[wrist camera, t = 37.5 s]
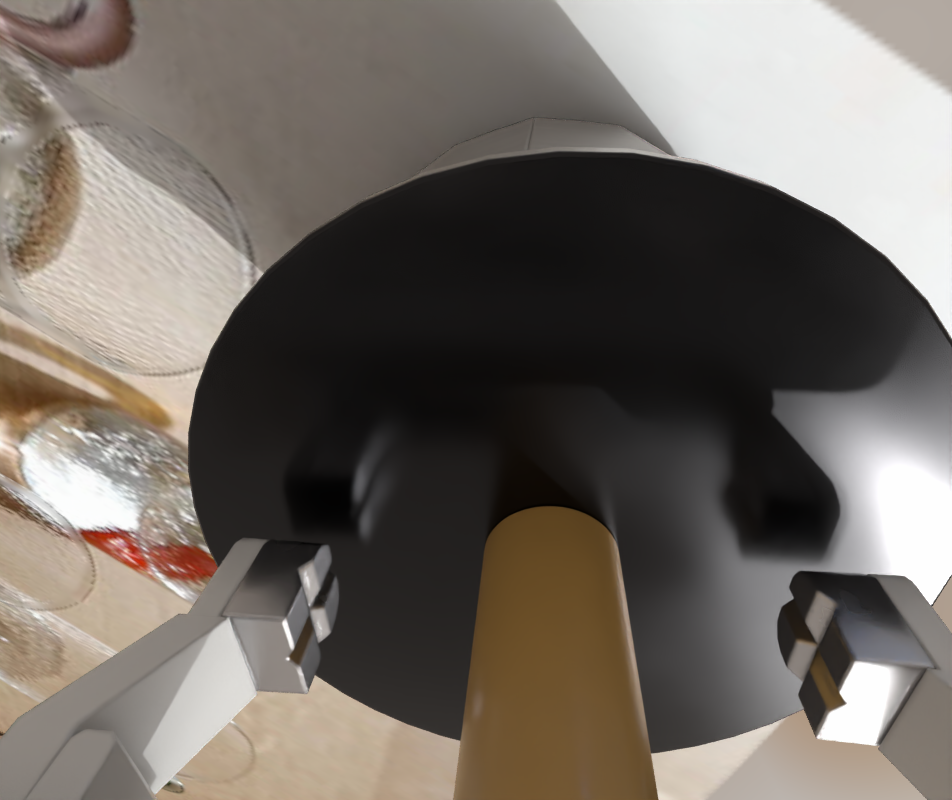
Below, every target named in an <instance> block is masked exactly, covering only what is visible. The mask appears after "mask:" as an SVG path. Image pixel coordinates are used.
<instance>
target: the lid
mask: <svg viewBox="0 0 952 800" xmlns="http://www.w3.org/2000/svg"><path fill="white" fill-rule="evenodd" d="M188 472H189V478H190V485H191V491H192V497H193V503H194V508H195V511H196V515H197V518H198V521H199V524H200V527H201V530H202V533H203V536H204V539H205V542H206V544H207V546H208V548H209V550H210V552H211V554H212V557H213V559H214V561H215V563H216V565H217V567H218V568H219V566H220V565H221V563H222V562H223V560H224V559H225V557H226V556H227V554H228V553H229V551H230V550H231V548H232V547H233V545H234V544H235V543H236V542H237V541H239V540H240V539H242V538H255V539H267V540H270V539H274V540H285V541H297V542H309V543H321V544H326V545H329V547H330V550H331V554H332V558H333V561H332V563H331V565H330V568H329V571H330V572H331V573H332V574H333V575H334V576H336V577H337V580H338V585H339V605H338V611H337V617H336V620H335V623H334V626H333V628H332V631H331V633H330V634H329V635H328V636H327V637H325V638H324V639H323V640H322V641H321V642H319V643H318V644H319V648H320V652H321V656H322V657H321V660H320V663H319V665H318V668H317V670H316V673H315V675H316V676H317V677H319V678H321V679H322V680H324V681H325V682H327V683H328V684H330V685H331V686H333V687H334V688H336V689H338V690H339V691H341V692H342V693H344V694H346V695H347V696H349V697H351V698H353V699H355V700H357V701H359V702H361V703H362V704H364V705H366V706H368V707H370V708H372V709H374V710H376V711H378V712H380V713H383V714H385V715H387V716H390V717H392V718H394V719H397V720H399V721H401V722H404V723H406V724H408V725H411V726H414V727H417V728H420V729H423V730H426V731H429V732H432V733H435V734H437V735H440V736H444V737H448V738H452V739H455V740H459V741H461V742H460V750H459V758H458V766H457V774H456V782H455V790H454V798H453V800H658V794H657V788H656V782H655V776H654V769H653V763H652V757H651V753H660V752H665V751H671V750H677V749H683V748H689V747H695V746H699V745H703V744H707V743H711V742H715V741H719V740H723V739H727V738H730V737H734V736H737V735H740V734H743V733H746V732H749V731H752V730H755V729H757V728H760V727H763V726H766V725H769V724H772V723H774V722H776V721H778V720H781V719H783V718H785V717H787V716H790V715H792V714H794V713H796V712H798V711H801V710H803V709H804V708H803V706H802V704H801V701H800V699H799V696H798V693H799V691H800V688H801V685H802V683H803V682H802V681H801V680H800V679H799V678H798V677H797V676H796V675H794V674H793V673H792V672H791V671H790V670H789V669H788V668H787V667H786V665H785V662H784V660H783V657H782V655H781V652H780V648H779V643H778V639H777V620H778V617H779V613H780V610H781V607H782V606H783V605H785V604H786V603H788V602H789V601H791V600H792V599H794V597H793V595H792V593H791V591H790V589H789V585H790V583H791V580H792V578H793V576H794V575H795V574H796V573H797V572H798V571H818V572H839V573H860V574H866V575H867V574H878V575H898V576H905V577H907V578H908V579H910V580H911V581H913V582H914V583H915V585H916V586H917V587H918V589H919V590H920V591H921V593H922V594H923V595H924V597H925V598H926V599H927V601H928V602H929V603H930V605H931V606H933V604H934V603H935V601H936V600H937V598H938V596H939V595H940V593H941V592H942V590H943V589H944V587H945V586H946V584H947V582H948V581H949V579H950V578H951V576H952V338H951V336H950V335H949V333H948V332H947V330H946V328H945V327H944V325H943V324H942V322H941V321H940V319H939V317H938V316H937V314H936V313H935V311H934V309H933V308H932V306H931V305H930V303H929V302H928V300H927V299H926V298H925V297H924V296H923V295H922V294H921V293H920V292H919V290H918V289H917V288H916V287H915V286H914V285H913V284H912V283H911V282H910V281H909V280H908V279H907V278H906V277H905V276H904V275H903V273H902V272H901V271H900V270H899V269H898V268H897V267H896V266H895V265H894V264H893V263H892V262H891V261H890V260H889V259H888V258H887V257H886V256H885V255H884V254H882V253H881V252H880V251H878V250H877V249H876V248H874V247H873V246H872V245H870V244H869V243H868V242H866V241H865V240H864V239H862V238H861V237H859V236H858V235H857V234H855V233H854V232H853V231H851V230H850V229H849V228H847V227H846V226H845V225H843V224H842V223H841V222H839V221H838V220H836V219H835V218H833V217H831V216H829V215H827V214H825V213H824V212H822V211H820V210H818V209H816V208H814V207H812V206H810V205H808V204H806V203H804V202H802V201H800V200H798V199H796V198H794V197H792V196H790V195H788V194H786V193H784V192H782V191H780V190H778V189H776V188H774V187H772V186H770V185H768V184H766V183H764V182H762V181H759V180H756V179H753V178H750V177H747V176H744V175H741V174H738V173H735V172H732V171H729V170H726V169H722V168H719V167H716V166H713V165H710V164H707V163H704V162H701V161H698V160H694V159H688V158H682V157H676V156H670V155H664V154H658V153H652V152H646V151H641V150H635V149H629V148H594V147H550V148H542V149H533V150H525V151H516V152H508V153H499V154H491V155H487V156H483V157H479V158H475V159H471V160H468V161H464V162H460V163H456V164H453V165H449V166H445V167H441V168H437V169H434V170H430V171H426V172H424V173H422V174H419V175H417V176H415V177H412V178H410V179H408V180H405V181H403V182H401V183H398V184H396V185H394V186H391V187H389V188H386V189H384V190H382V191H379V192H377V193H375V194H372V195H370V196H368V197H367V198H365V199H363V200H362V201H360V202H359V203H357V204H355V205H354V206H352V207H351V208H349V209H347V210H346V211H344V212H342V213H341V214H339V215H338V216H336V217H334V218H333V219H331V220H329V221H328V222H326V223H325V224H323V225H321V226H320V227H318V228H317V229H315V230H314V231H312V232H311V233H309V234H308V235H307V236H306V237H305V238H303V239H302V240H301V241H300V242H299V243H298V244H296V245H295V246H294V247H293V248H292V249H291V250H289V251H288V252H287V253H286V254H285V255H284V256H282V257H281V258H280V259H279V260H278V261H277V262H275V263H274V264H273V265H272V266H271V267H270V268H269V269H267V270H266V272H265V273H264V274H263V275H262V276H261V278H260V279H259V280H258V281H257V282H256V284H255V285H254V286H253V287H252V288H251V290H250V291H249V292H248V293H247V294H246V296H245V297H244V298H243V299H242V300H241V301H240V303H239V304H238V305H237V306H236V307H235V309H234V310H233V312H232V314H231V315H230V317H229V319H228V321H227V322H226V324H225V326H224V328H223V329H222V331H221V333H220V334H219V336H218V338H217V340H216V341H215V343H214V345H213V347H212V348H211V350H210V353H209V356H208V359H207V361H206V364H205V367H204V370H203V372H202V375H201V378H200V380H199V383H198V386H197V389H196V392H195V398H194V404H193V409H192V415H191V421H190V426H189V432H188Z"/></svg>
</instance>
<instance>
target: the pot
mask: <svg viewBox="0 0 952 800" xmlns="http://www.w3.org/2000/svg"><path fill="white" fill-rule="evenodd" d="M550 147H594V148H629V149H635V150H641V151H646V152H652V153H658V154H664V155H669V154H667V153H665V152H664V151H662V150H660V149H659V148H657V147H655V146H654V145H652V144H650V143H649V142H647V141H646V140H644V139H642V138H641V137H639V136H637V135H636V134H634V133H632V132H631V131H629V130H627V129H626V128H624V127H622V126H619V125H615V124H604V123H593V122H586V121H580V120H561V119H551V118H540V117H536V118H535V119H534V118H530V119H527V120H524V121H522V122H519V123H516V124H513V125H510V126H507V127H504V128H500V129H496V130H494V131H491V132H489V133H487V134H484V135H482V136H479V137H476V138H473V139H470V140H467V141H465V142H462V143H459V144H457V145H455V146H454V147H452V148H451V149H449V150H448V151H447V152H445V153H444V154H443V155H441V156H440V157H439V158H437V159H436V160H435V161H433V162H432V163H431V164H430V165H428V166H427V167H426V168H424V169H423V170H422V171H420V172H419V173H418V174H416V175H415V176H417V175H419V174H422V173H424V172H426V171H430V170H434V169H437V168H441V167H445V166H449V165H453V164H456V163H460V162H464V161H468V160H471V159H475V158H479V157H483V156H487V155H491V154H499V153H508V152H516V151H525V150H533V149H542V148H550ZM415 176H414V177H415Z"/></svg>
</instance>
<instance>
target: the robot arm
mask: <svg viewBox="0 0 952 800" xmlns="http://www.w3.org/2000/svg"><path fill="white" fill-rule="evenodd" d="M332 561H333V558H332V554H331V550H330V547H329V545H326V544H321V543H309V542H297V541H285V540H274V539H270V540H267V539H255V538H242V539H240V540H239V541H237V542H236V543H235V544H234V545H233V547H232V548H231V550H230V551H229V553H228V554H227V556H226V557H225V559H224V560H223V562H222V563H221V565H220V566H219V568H218V569H217V571H216V572H215V574H214V575H213V577H212V578H211V580H210V581H209V583H208V584H207V586H206V587H205V589H204V590H203V592H202V593H201V595H200V596H199V598H198V599H197V601H196V602H195V604H194V605H193V607H192V608H191V610H190V611H189V613H188V614H178V615H176V616H175V617H173V618H172V619H170V620H168V621H167V622H165V623H164V624H162V625H161V626H159V627H158V628H156V629H155V630H153V631H151V632H150V633H148V634H147V635H145V636H144V637H142V638H141V639H139V640H138V641H136V642H134V643H133V644H131V645H130V646H128V647H127V648H125V649H124V650H122V651H120V652H119V653H117V654H116V655H114V656H113V657H111V658H110V659H108V660H107V661H105V662H103V663H102V664H100V665H99V666H97V667H96V668H94V669H93V670H91V671H90V672H88V673H86V674H85V675H83V676H82V677H80V678H79V679H77V680H76V681H74V682H73V683H71V684H69V685H68V686H66V687H65V688H63V689H62V690H60V691H59V692H57V693H56V694H54V695H52V696H51V697H49V698H48V699H46V700H45V701H43V702H42V703H40V704H39V705H37V706H35V707H34V708H32V709H31V710H29V711H28V712H26V713H25V714H23V715H22V716H20V717H18V718H17V719H16V720H15V722H14V723H13V724H12V725H11V726H10V728H9V729H8V730H7V731H6V733H5V734H4V735H3V736H2V737H1V739H0V800H158V799H157V798H156V796H155V794H156V793H157V792H158V791H159V790H160V789H161V788H162V787H163V786H164V785H165V784H166V783H167V782H168V781H169V780H170V779H171V778H172V777H173V776H174V775H175V774H176V773H177V772H178V771H180V770H181V769H182V768H183V767H184V766H185V765H186V764H187V763H188V762H189V761H190V760H191V759H192V758H193V757H194V756H195V755H196V754H197V753H198V752H199V751H200V750H201V749H202V748H203V747H204V746H205V745H206V744H207V743H208V742H209V741H210V740H211V739H212V738H213V737H214V736H215V735H216V734H217V733H218V732H219V731H220V730H221V729H222V728H223V727H224V726H225V725H226V724H227V723H228V722H229V721H230V720H232V719H233V718H234V717H235V716H236V715H237V714H238V713H239V712H240V711H241V710H242V709H243V708H244V707H245V706H246V705H247V704H248V703H249V702H250V701H251V700H252V699H253V698H254V697H255V696H256V695H257V692H256V691H265V692H282V693H300V694H307V693H308V691H309V688H310V686H311V683H312V681H313V678H314V675H315V673H316V670H317V668H318V665H319V663H320V660H321V657H322V656H321V652H320V648H319V644H318V643H319V642H321V641H322V640H323V639H324V638H325V637H327V636H328V635H329V634H330V633H331V631H332V628H333V626H334V623H335V620H336V617H337V611H338V605H339V585H338V580H337V577H336V576H334V575H333V574H332V573H331V572H330V571H329V568H330V565H331V563H332ZM789 589H790V591H791V593H792V595H793V597H794V599H792V600H791V601H789V602H788V603H786V604H785V605H783V606H782V607H781V610H780V613H779V617H778V620H777V639H778V643H779V648H780V652H781V655H782V657H783V660H784V662H785V665H786V667H787V668H788V669H789V670H790V671H791V672H792V673H793V674H794V675H796V676H797V677H798V678H799V679H800V680H801V681H802V682H803V683H802V685H801V688H800V691H799V693H798V696H799V699H800V701H801V704H802V706H803V708H804V711H805V713H806V715H807V718H808V720H809V723H810V725H811V727H812V730H813V732H814V734H815V737H816V739H824V740H832V741H841V742H850V743H859V744H867V745H876V746H879V748H878V749H879V750H880V751H881V752H882V753H883V755H884V756H885V757H886V758H887V759H888V760H889V761H890V762H891V763H892V764H893V765H894V766H895V767H896V768H897V769H898V770H899V771H900V772H901V773H902V774H903V775H904V776H905V777H906V778H907V779H908V780H909V781H910V782H911V783H912V784H913V785H914V786H915V788H917V790H918V791H919V792H920V793H921V794H922V795H923V796H924V797H925V798H926V799H927V800H952V633H951V632H950V630H949V629H948V628H947V626H946V625H945V624H944V622H943V621H942V620H941V618H940V617H939V616H938V614H937V613H936V612H935V610H934V609H933V608H932V606H931V605H930V603H929V602H928V601H927V599H926V598H925V597H924V595H923V594H922V593H921V591H920V590H919V589H918V587H917V586H916V585H915V583H914V582H913V581H911V580H910V579H908V578H907V577H905V576H898V575H878V574H867V575H866V574H860V573H839V572H818V571H798V572H797V573H796V574H795V575H794V576H793V578H792V580H791V583H790V585H789Z"/></svg>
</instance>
